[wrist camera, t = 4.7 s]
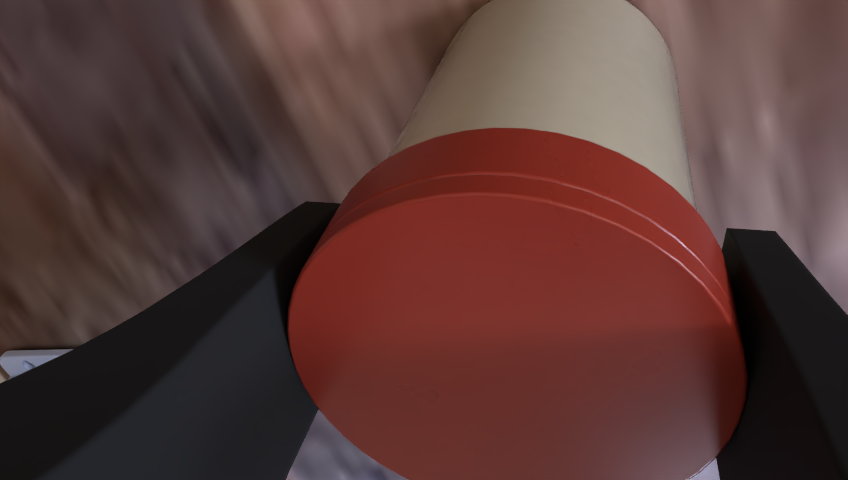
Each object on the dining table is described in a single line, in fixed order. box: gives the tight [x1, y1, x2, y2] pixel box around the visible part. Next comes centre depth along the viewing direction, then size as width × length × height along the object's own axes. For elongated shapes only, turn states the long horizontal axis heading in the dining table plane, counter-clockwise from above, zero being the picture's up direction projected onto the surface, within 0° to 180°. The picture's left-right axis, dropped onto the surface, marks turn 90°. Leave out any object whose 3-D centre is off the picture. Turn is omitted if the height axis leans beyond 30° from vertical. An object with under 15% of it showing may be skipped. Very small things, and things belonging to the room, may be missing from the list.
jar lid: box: [287, 128, 748, 480], centre depth 9 cm, size 6×6×2 cm
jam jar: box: [388, 0, 697, 211], centre depth 12 cm, size 5×5×8 cm
